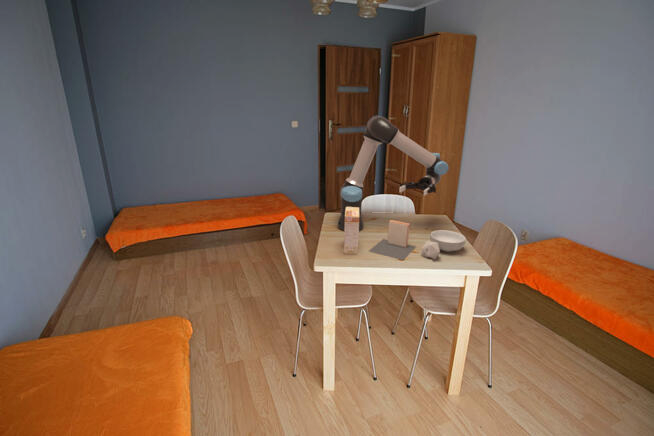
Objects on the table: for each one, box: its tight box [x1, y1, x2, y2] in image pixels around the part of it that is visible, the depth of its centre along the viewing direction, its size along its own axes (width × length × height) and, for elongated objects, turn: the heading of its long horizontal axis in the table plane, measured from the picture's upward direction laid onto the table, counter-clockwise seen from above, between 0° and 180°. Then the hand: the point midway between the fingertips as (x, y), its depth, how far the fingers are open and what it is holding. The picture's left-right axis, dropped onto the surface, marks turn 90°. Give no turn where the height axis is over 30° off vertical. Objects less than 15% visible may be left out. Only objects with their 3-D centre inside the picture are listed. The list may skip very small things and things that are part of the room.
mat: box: [368, 238, 417, 261], centre depth 173 cm, size 18×19×1 cm
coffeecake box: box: [343, 207, 360, 255], centre depth 172 cm, size 15×7×20 cm, turn 175°
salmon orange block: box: [387, 219, 411, 247], centre depth 176 cm, size 10×3×12 cm, turn 58°
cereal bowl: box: [429, 229, 467, 253], centre depth 175 cm, size 17×17×7 cm
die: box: [421, 240, 441, 260], centre depth 165 cm, size 8×9×10 cm
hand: (411, 191), depth 184 cm, fingers open, 13 cm apart
